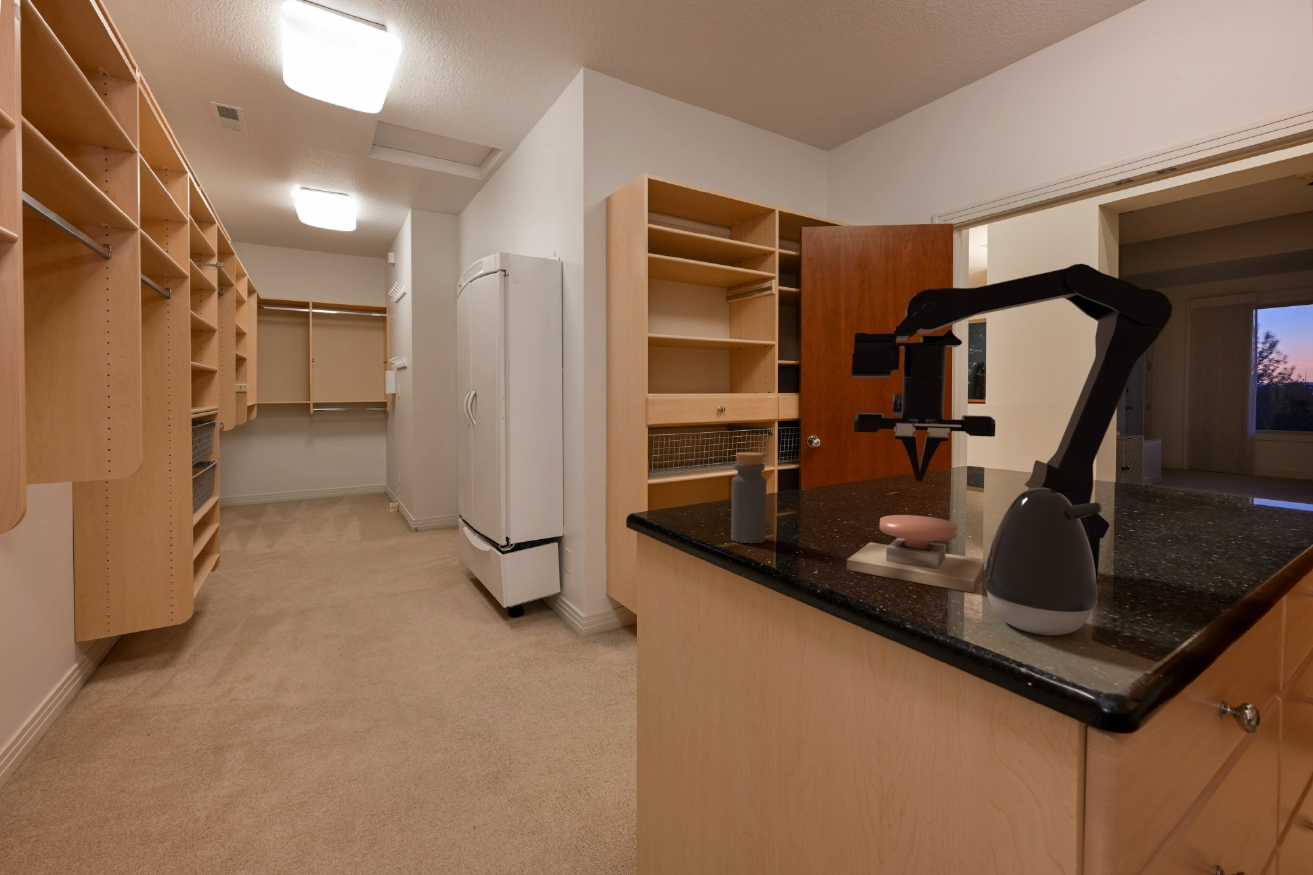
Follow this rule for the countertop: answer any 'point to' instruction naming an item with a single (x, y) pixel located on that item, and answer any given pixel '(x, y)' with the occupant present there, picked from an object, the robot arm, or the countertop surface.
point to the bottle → (748, 499)
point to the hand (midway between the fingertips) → (919, 481)
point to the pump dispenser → (1042, 564)
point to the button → (918, 529)
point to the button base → (918, 565)
